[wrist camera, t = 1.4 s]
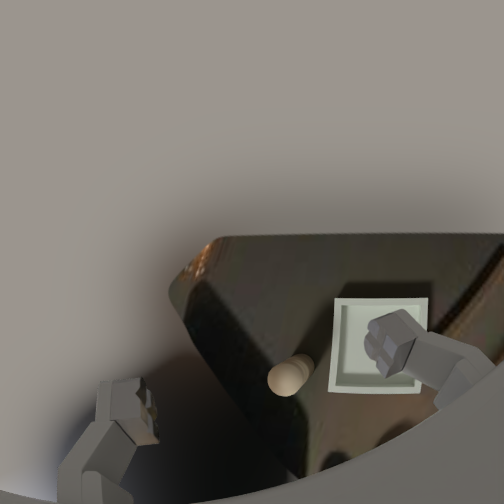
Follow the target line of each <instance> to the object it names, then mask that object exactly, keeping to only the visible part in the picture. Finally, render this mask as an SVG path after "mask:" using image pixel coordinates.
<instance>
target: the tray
mask: <svg viewBox="0 0 504 504" xmlns="http://www.w3.org/2000/svg"><path fill="white" fill-rule="evenodd" d="M399 309H404V310H406V311H407V312H408V313H409V314H410V315H411V316H412V317H413V318H414V319H415V320H416V321H417V322H418V323H419V324H420V325H421V326H422V327H423V328H424V329H425V330H426V331H427V314H428V298H378V299H364V298H335V304H334V324H333V340H332V354H331V366H330V376H329V386H328V392H339V393H365V394H407V393H420V390H421V383H422V382H420V381H418V380H416V379H414V378H412V377H410V376H408V375H407V374H405V373H403V372H402V371H401V372H399V373H397V374H394V375H392V376H390V377H388V378H384V377H383V375H382V374H381V373H380V371H379V370H378V369H377V368H376V361H374V360H371V359H370V358H369V357H368V355H367V354H366V351H365V349H364V339H365V336H366V335H367V333H368V332H369V330H368V329H367V326H368V323H369V322H370V320H372V319H375V318H378V317H380V316H383V315H386V314H388V313H391V312H394V311H396V310H399Z"/></svg>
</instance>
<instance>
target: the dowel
mask: <svg viewBox="0 0 504 504" xmlns="http://www.w3.org/2000/svg"><path fill="white" fill-rule="evenodd" d="M314 368H315V366H314V362H313V360H312V358H311V357H310V356H308V355H306V354H302V353H300V354H296V355H294V356H292V357H290V358H289V359H287V360H285V361H283V362H282V363H280V364H278V365H277V366H275V367H273V368H272V369H271V371H270V372H269V375H268V384H269V387H270V388H271V390H272V391H273V392H274V393H276V394H278V395H280V396H290V395H293V394H294V393H296V392H297V391H298V390H299V389H300V387H301V386H302V385H303V384H304V383H305V382H306V381H307V380H308V378H309V377H310V376H311V375H312V374H313V372H314Z"/></svg>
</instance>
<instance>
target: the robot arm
mask: <svg viewBox="0 0 504 504" xmlns="http://www.w3.org/2000/svg"><path fill="white" fill-rule="evenodd" d="M367 329H368V330H369V332H368V333H367V335H366V336H365V339H364V349H365V351H366V354H367V355H368V357H369V358H370V359H371V360H374V361H376V368H377V369H378V370H379V371H380V373H381V374H382V375H383V377H384V378H388V377H390V376H392V375H394V374H397V373H399V372H401V371H402V372H403V373H405V374H407V375H408V376H410V377H412V378H414V379H416V380H418V381H420V382H422V383H424V384H426V385H427V386H429V387H431V388H433V389H435V390H437V391H439V393H438V394H437V396H436V397H435V399H434V402H433V403H434V404H435V406H436V407H437V408H438V410H439V411H438V412H437V413H435V414H434V415H432V416H431V417H429V418H428V419H426V420H424V421H423V422H421V423H420V424H418V425H416V426H415V427H413V428H411V429H410V430H408V431H406V432H404V433H403V434H401V435H399V436H397V437H396V438H394V439H392V440H390V441H388V442H386V443H384V444H382V445H380V446H378V447H377V448H374V449H372V450H370V451H368V452H366V453H364V454H362V455H360V456H358V457H356V458H353V459H351V460H349V461H346V462H344V463H342V464H339V465H337V466H335V467H332V468H330V469H327V470H324V471H322V472H319V473H316V474H314V475H311V476H308V477H305V478H302V479H299V480H296V481H293V482H290V483H287V484H283V485H280V486H277V487H273V488H270V489H266V490H262V491H258V492H254V493H249V494H246V495H240V496H236V497H231V498H226V499H221V500H214V501H208V502H201V503H194V504H504V360H503V361H502V362H501V363H500V364H499V365H498V366H495V365H494V364H493V363H492V362H491V361H490V360H489V359H488V358H487V357H486V356H485V355H484V354H483V353H482V352H481V351H480V350H479V349H478V348H477V347H474V346H471V345H468V344H465V343H462V342H460V341H457V340H454V339H451V338H448V337H445V336H442V335H439V334H436V333H433V332H427V331H426V330H425V329H424V328H423V327H422V326H421V325H420V324H419V323H418V322H417V321H416V320H415V319H414V318H413V317H412V316H411V315H410V314H409V313H408V312H407V311H406V310H404V309H399V310H396V311H394V312H391V313H388V314H386V315H383V316H380V317H378V318H375V319H372V320H370V322H369V323H368V326H367ZM156 417H157V411H156V405H155V401H154V398H153V396H152V394H151V392H150V391H149V390H147V389H146V383H145V381H144V379H143V378H132V379H123V380H113V381H103V382H100V384H99V386H98V395H97V406H96V421H95V422H91V424H90V425H89V426H88V428H87V429H86V430H85V432H84V433H83V434H82V436H81V437H80V439H79V440H78V441H77V443H76V444H75V445H74V447H73V448H72V450H71V451H70V453H69V454H68V455H67V457H66V458H65V459H64V461H63V462H62V464H61V465H60V466H59V468H58V481H57V502H51V501H45V500H39V499H35V498H29V497H25V496H21V495H17V494H13V493H9V492H5V491H2V490H0V504H134V503H133V496H132V495H130V494H129V493H128V492H126V491H125V490H123V489H121V488H120V487H119V486H118V485H119V483H120V481H121V479H122V477H123V475H124V473H125V471H126V469H127V466H128V464H129V462H130V460H131V458H132V456H133V454H134V452H135V450H136V448H137V446H138V445H148V444H155V443H160V442H159V432H158V426H157V424H156V423H155V422H154V420H155V418H156Z"/></svg>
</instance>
